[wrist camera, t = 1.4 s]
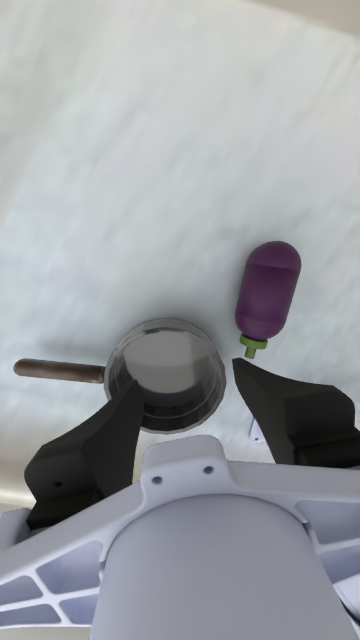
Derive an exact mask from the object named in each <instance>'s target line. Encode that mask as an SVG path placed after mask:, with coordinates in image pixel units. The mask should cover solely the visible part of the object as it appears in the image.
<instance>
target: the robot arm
mask: <svg viewBox="0 0 360 640" xmlns="http://www.w3.org/2000/svg"><path fill="white" fill-rule="evenodd" d="M232 363H233V370H234V376H235V382H236V385H237V387H238V390H239V392H240V394H241V396H242V398H243V400H244V401H245V403H246V405H247V406H248V408H249V410H250V411H251V413H252V415H253V416H254V421H253V425H252V428H251V432H250V435H249V438H250V440H251V441H255V442H266V444H267V446H268V448H269V450H270V451H271V453H272V456H273V458H274V460H275V463H276V464H271V463H257V462H244V461H230V460H227V459H226V458H225V454H224V450H223V447H222V445H221V443H220V441H219V440H218V439H217V438H215V437H213V436H211V435H196V436H191V437H187V438H182V439H177V440H172V441H167V442H162V443H158V444H155V445H153V446H151V447H149V448H148V449H147V450H146V452H145V453H144V455H143V461H142V467H141V474H140V481H138V482H136V483H134V484H132V478H133V468H134V459H135V451H136V445H137V441H138V436H139V432H140V427H141V423H142V418H143V412H144V400H143V397H142V393H141V390H140V387H139V384H138V381H137V379H136V380H131V381H129V382H127V383H126V384H125V385H124V386H123V387H122V388H121V390H120V391H119V392H118V393H117V394H116V395H115V396H114V397H113V398H112V399H111V400H110V401H109V402H108V403H107V404H106V405H104V406H103V407H102V408H101V409H100V410H99V411H98V412H96V413H95V414H94V415H93V416H91V417H90V418H89V419H87V420H86V421H84V422H83V423H81V424H80V425H79V426H77V427H75V428H74V429H72V430H71V431H69V432H67V433H66V434H64V435H62V436H60V437H58V438H56V439H54V440H52V441H50V442H48V443H46V444H44V445H42V446H41V448H40V449H39V450H38V452H37V453H36V454H35V456H34V457H33V459H32V460H31V461H30V463H29V464H28V465H27V467H26V469H25V472H24V478H25V481H26V484H27V486H28V487H29V489H30V491H31V492H32V494H33V496H34V497H35V499H36V501H37V502H36V504H35V506H34V507H33V509H32V510H31V509H29V508H22V509H17V510H12V511H7V512H4V513H3V514H2V515H1V516H0V629H4V628H15V627H33V626H60V627H61V626H62V627H91V631H90V635H89V640H360V431H359V430H358V429H357V428H356V427H354V424H355V407H354V403H353V401H352V400H351V399H350V398H349V397H348V396H347V395H345V394H344V393H343V392H341V391H340V390H339V389H337V388H336V387H334V386H333V385H322V384H313V383H307V382H301V381H296V380H292V379H288V378H285V377H281V376H279V375H276V374H273V373H270V372H268V371H266V370H263V369H261V368H259V367H257V366H255V365H253V364H251V363H250V362H248V361H246V360H244V359H242V358H235V359H232Z"/></svg>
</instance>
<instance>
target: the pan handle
mask: <svg viewBox="0 0 360 640" xmlns="http://www.w3.org/2000/svg"><path fill="white" fill-rule="evenodd" d="M105 368H106V367H104V366H95V365H85V364H75V363H66V362H56V361H46V360H37V359H21V360H19V361H17V362H16V363H15V365H14V372H15V373H16V374H17V375H19V376H27V377H37V378H48V379H58V380H68V381H79V382H89V383H100V384H102V383H104V371H105Z"/></svg>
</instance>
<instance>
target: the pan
mask: <svg viewBox="0 0 360 640" xmlns="http://www.w3.org/2000/svg"><path fill="white" fill-rule="evenodd" d="M136 379H137V381H138V384H139V387H140V390H141V393H142V397H143V400H144V412H143V418H142V423H141V427H140V430H142V431H145V432H148V433H153V434H166V435H169V434H175V433H180V432H185V431H188V430H190V429H192V428H194V427H196V426H199V425H201V424H202V423H203V422H204V421H206V420H207V419H208V418H209V417H210V416H211V415H213V414H214V412H215V411H216V409H217V408H218V406H219V404H220V403H221V401H222V399H223V396H224V391H225V387H226V376H225V368H224V365H223V363H222V361H221V359H220V357H219V355H218V353H217V351H216V349H215V347H214V345H213V344H212V342H211V340H210V338H209V337H208V336H207V335H205V334H204V333H203V332H202V331H201V330H200V329H199V328H198V327H196V326H194V325H191V324H189V323H187V322H185V321H182V320H176V319H168V318H162V319H156V320H151V321H147V322H145V323H143V324H141V325H139V326H137V327H135V328H133V329H132V330H131V331H130V332H129V333H128V334H127V335H126V336H125V337H124V338H123V339H122V340H121V341H120V343H119V344H118V346H117V347H116V348H115V350H114V351H113V353H112V354H111V356H110V359H109V361H108V363H107V366H106V368H105V371H104V390H105V393H106V396H107V399H108V402H109V401H110V400H111V399H112V398H113V397H114V396H115V395H116V394H117V393H118V392H119V391H120V390H121V388H122V387H123V386H124V385H125V384H126V383H127V382H129V381H131V380H136Z"/></svg>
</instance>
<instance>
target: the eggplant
mask: <svg viewBox="0 0 360 640" xmlns="http://www.w3.org/2000/svg"><path fill="white" fill-rule="evenodd" d="M300 270H301V259H300V255H299V254H298V252H297V250H296V249H295V248H294V247H293V246H291V245H290V244H288V243H285V242H282V241H272V242H267V243H265V244H262V245H261V246H259V247H257V248H256V249H255V250H254V251H253V252H252V253H251V255H250V256H249V258H248V260H247V263H246V267H245V271H244V276H243V280H242V285H241V290H240V294H239V299H238V303H237V308H236V313H235V319H236V324H237V326H238V328H239V329H240V331H241V332H242V334H241V337H240V342H241V343H242V344H243V345H245V346H247V348H246V352H245V357H247V358H249V359H253V358H254V356H255V352H256V349H265V348H266V346H267V342H268V340H267V339H268V338H271V337H273V336H275V335H277V334H278V333H279V332H280V331H281V330H282V328H283V327H284V324H285V322H286V318H287V315H288V311H289V308H290V305H291V301H292V298H293V294H294V291H295V287H296V284H297V281H298V277H299V274H300Z"/></svg>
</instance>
